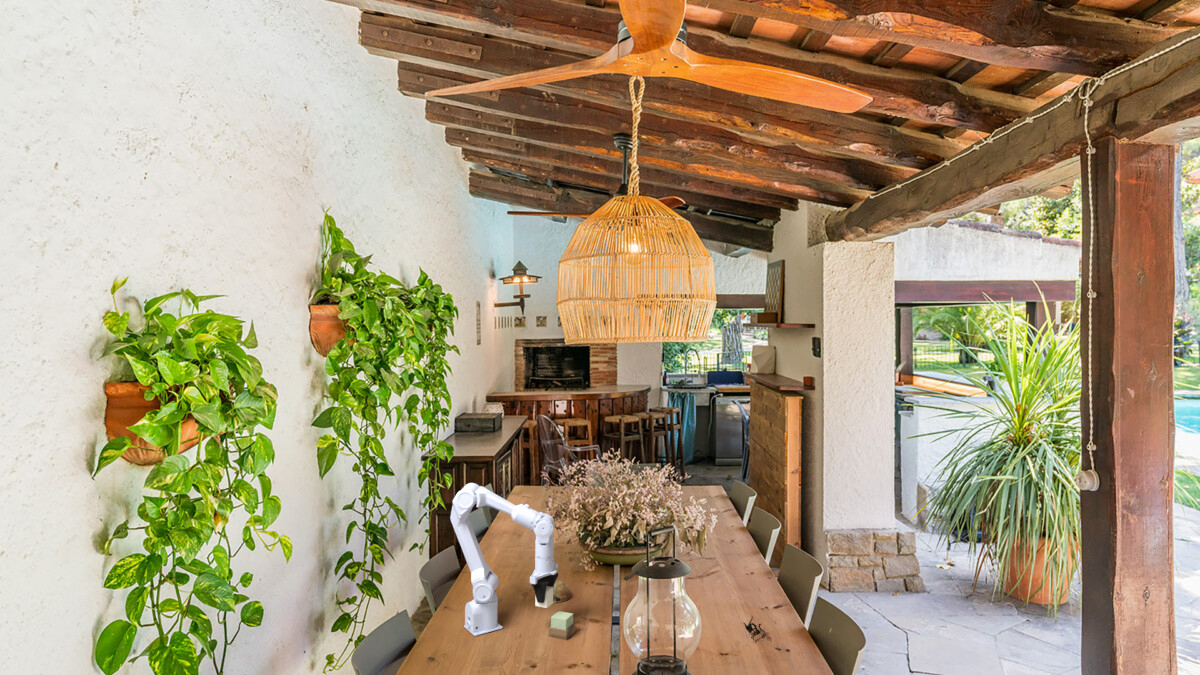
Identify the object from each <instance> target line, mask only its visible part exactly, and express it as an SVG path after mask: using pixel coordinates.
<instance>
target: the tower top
mask: <svg viewBox="0 0 1200 675" xmlns="http://www.w3.org/2000/svg"><path fill="white" fill-rule="evenodd" d="M573 623H574V613H570V612H567V611H566V612H565V611H561V610H558V611H557V612H555V613H554V614H552V616H550V626H551V627H552V628H557V629H562V630H567V629H568V628H569V627H570V626H571V625H572V624H573Z"/></svg>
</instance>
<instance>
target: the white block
mask: <svg viewBox="0 0 1200 675" xmlns="http://www.w3.org/2000/svg"><path fill="white" fill-rule="evenodd" d="M534 595H535V594H534ZM534 597H535V598H534V599H535V603H534V605H535V607H539V608H544V609H546V608H549V607H550V606H551V605H553V604H554V603H553V587H550V586H547V588H546V593H545V601H544V603H539V602H537V599H536V595H535V596H534Z"/></svg>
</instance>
